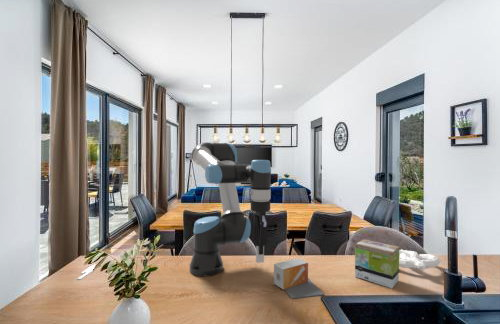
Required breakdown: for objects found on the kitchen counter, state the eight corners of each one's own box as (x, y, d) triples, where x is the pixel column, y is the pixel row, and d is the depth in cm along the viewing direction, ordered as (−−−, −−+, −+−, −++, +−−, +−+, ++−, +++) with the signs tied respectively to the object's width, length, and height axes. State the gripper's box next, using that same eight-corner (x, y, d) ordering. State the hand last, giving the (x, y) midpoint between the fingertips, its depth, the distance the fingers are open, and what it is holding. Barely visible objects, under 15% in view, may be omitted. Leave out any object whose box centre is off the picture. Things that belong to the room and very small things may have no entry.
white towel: (363, 263, 131) (362, 250, 132) (392, 257, 143) (391, 245, 143) (421, 277, 107) (419, 261, 108) (451, 268, 118) (449, 254, 119)
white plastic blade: (68, 280, 108) (68, 277, 108) (91, 266, 123) (91, 264, 123) (80, 280, 108) (80, 277, 108) (101, 266, 123) (101, 263, 123)
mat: (277, 280, 108) (277, 279, 108) (306, 277, 111) (306, 276, 111) (291, 298, 93) (291, 297, 93) (324, 295, 96) (324, 293, 96)
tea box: (354, 277, 111) (354, 243, 111) (362, 270, 119) (362, 238, 119) (393, 289, 101) (393, 251, 101) (399, 281, 108) (399, 245, 109)
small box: (283, 269, 99) (308, 262, 106) (273, 263, 104) (297, 257, 111) (283, 290, 99) (308, 282, 106) (273, 283, 104) (297, 276, 111)
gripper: (247, 198, 104) (246, 256, 104) (255, 203, 92) (254, 269, 92) (264, 197, 106) (264, 255, 106) (275, 202, 93) (274, 267, 94)
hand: (259, 261), depth 99 cm, fingers closed
